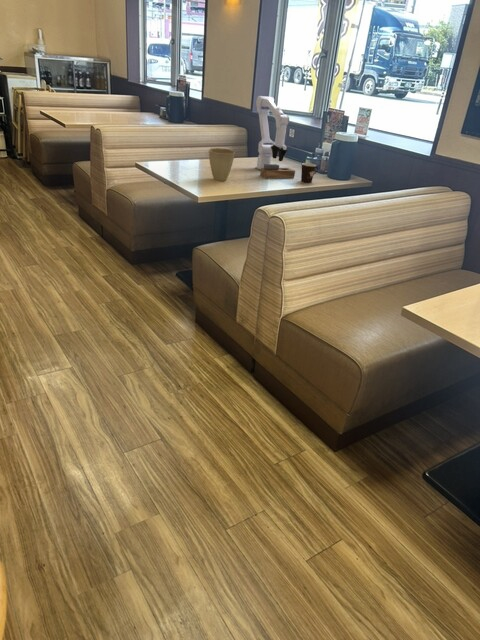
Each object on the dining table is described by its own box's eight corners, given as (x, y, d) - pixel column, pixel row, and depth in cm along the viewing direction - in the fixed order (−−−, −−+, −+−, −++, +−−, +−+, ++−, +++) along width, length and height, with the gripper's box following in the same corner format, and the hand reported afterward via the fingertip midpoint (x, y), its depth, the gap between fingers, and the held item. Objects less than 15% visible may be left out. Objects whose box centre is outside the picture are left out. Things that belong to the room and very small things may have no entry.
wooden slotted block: (260, 175, 291) (260, 167, 289) (287, 174, 300) (288, 167, 297) (266, 178, 285) (267, 170, 283) (294, 178, 293) (295, 170, 291)
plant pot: (203, 176, 275) (205, 147, 267) (227, 176, 280) (229, 148, 272) (211, 182, 263) (213, 153, 255) (236, 182, 268) (238, 153, 260)
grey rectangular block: (263, 174, 289) (264, 164, 286) (275, 173, 293) (276, 164, 290) (265, 175, 287) (266, 165, 284) (278, 175, 290) (279, 165, 288)
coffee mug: (301, 182, 284) (304, 165, 279) (297, 179, 291) (300, 162, 286) (319, 183, 286) (322, 166, 281) (315, 180, 293) (318, 163, 289)
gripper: (269, 134, 288) (266, 157, 295) (280, 138, 277) (277, 162, 284) (278, 134, 291) (276, 157, 298) (290, 138, 280) (287, 162, 287)
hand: (277, 159), depth 291 cm, fingers open, 7 cm apart
